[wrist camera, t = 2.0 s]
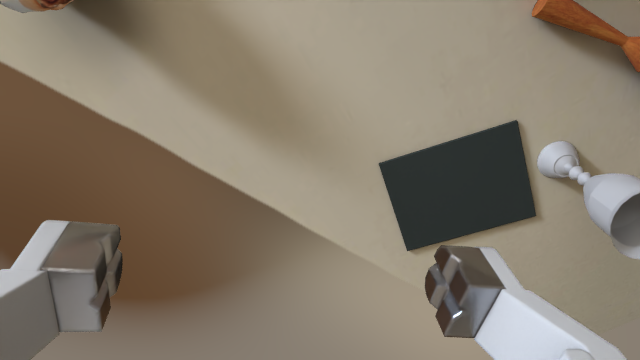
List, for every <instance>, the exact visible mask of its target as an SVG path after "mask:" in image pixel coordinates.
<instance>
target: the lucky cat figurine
mask: <svg viewBox="0 0 640 360" xmlns="http://www.w3.org/2000/svg"><path fill="white" fill-rule="evenodd" d="M72 1H74V0H0V4H2V5H4V6H5V7H8V8H10V9H12V10H15V11H18V12H21V13H25V12H31V11H46V10H49V9H51V10H59V9H63V8H64V7H65V6H66V5H67V4H68V3H70V2H72Z"/></svg>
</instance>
